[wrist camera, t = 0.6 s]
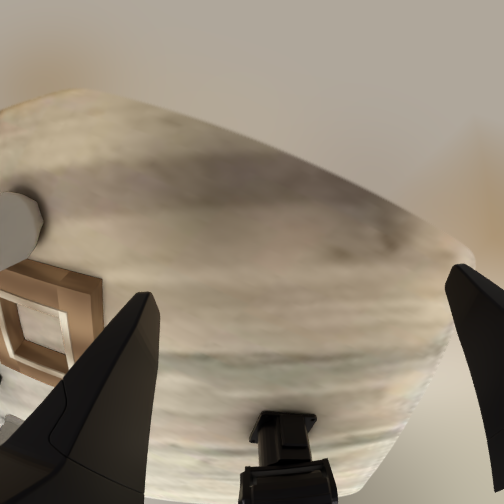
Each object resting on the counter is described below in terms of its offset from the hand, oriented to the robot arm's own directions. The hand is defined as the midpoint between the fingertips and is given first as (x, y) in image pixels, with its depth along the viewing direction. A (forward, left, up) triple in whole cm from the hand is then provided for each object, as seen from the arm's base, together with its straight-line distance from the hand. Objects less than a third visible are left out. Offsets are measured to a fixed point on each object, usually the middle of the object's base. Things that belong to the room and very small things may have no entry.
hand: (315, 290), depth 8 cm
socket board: (-17, +19, -14) cm, 29 cm away
